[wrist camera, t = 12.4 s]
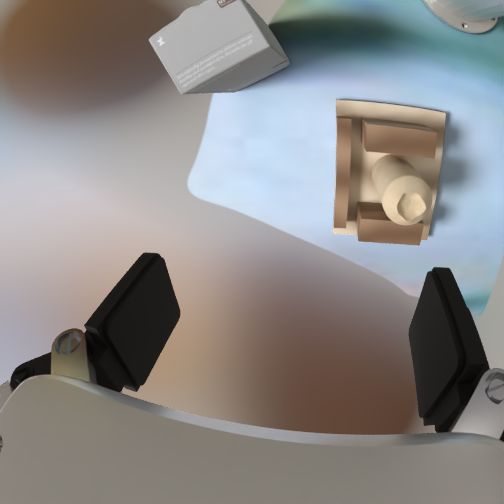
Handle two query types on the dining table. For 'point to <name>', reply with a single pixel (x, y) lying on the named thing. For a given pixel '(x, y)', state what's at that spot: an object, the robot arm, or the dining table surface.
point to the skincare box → (218, 48)
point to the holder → (366, 155)
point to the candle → (401, 190)
